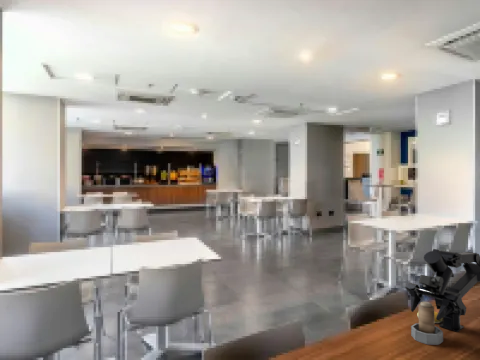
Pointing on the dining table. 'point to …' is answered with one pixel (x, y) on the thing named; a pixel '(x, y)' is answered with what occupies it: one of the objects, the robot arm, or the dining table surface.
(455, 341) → the dining table surface
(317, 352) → the dining table surface
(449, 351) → the dining table surface
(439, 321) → the bread roll
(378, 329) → the dining table surface
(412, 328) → the bin
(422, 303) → the pepper mill
